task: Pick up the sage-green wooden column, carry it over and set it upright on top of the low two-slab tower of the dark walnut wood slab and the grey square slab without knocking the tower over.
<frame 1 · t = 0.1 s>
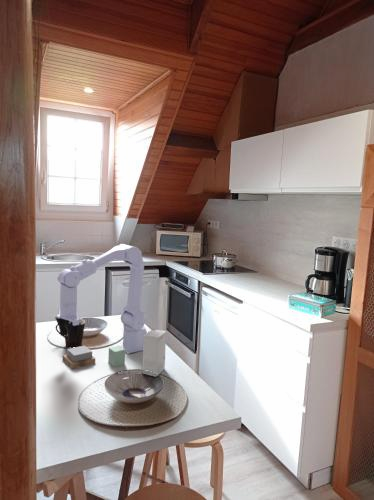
hand: (67, 338, 134), 10 cm above the table, tool pointing down, fingers open, 7 cm apart
walnut slab: (78, 363, 139), on the table, touching grey square slab
coffee mug: (71, 344, 154), on the table
grey square slab: (79, 356, 139), point 2 cm above the table, touching walnut slab
green column: (116, 363, 139), on the table
skincare box: (153, 372, 134), on the table
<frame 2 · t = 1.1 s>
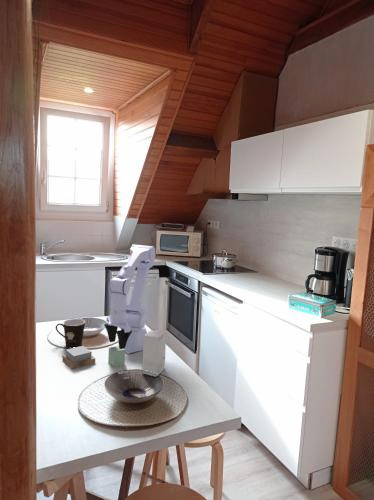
hand: (117, 344, 138), 7 cm above the table, tool pointing down, fingers open, 7 cm apart
nothing on the table moved.
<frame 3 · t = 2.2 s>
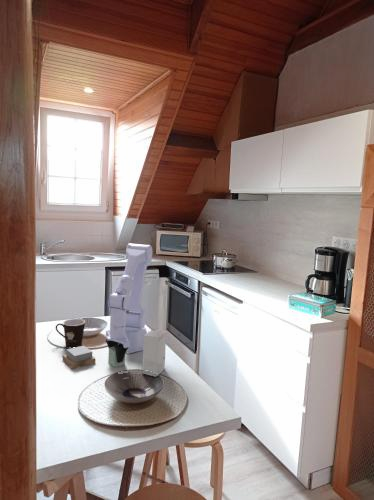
hand: (116, 359, 139), 2 cm above the table, tool pointing down, fingers closed on green column, 4 cm apart
walnut slab: (78, 362, 139), on the table
grey square slab: (79, 356, 138), point 2 cm above the table
green column: (116, 363, 139), on the table, touching gripper
everything else where it was.
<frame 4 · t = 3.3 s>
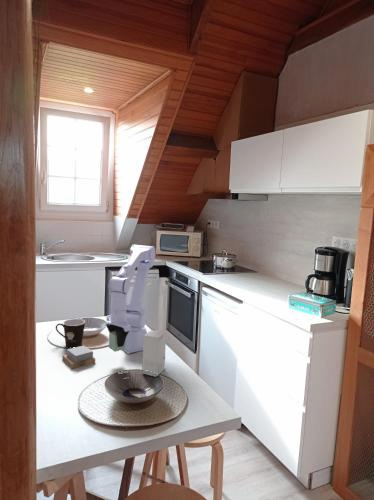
hand: (117, 344, 138), 8 cm above the table, tool pointing down, fingers closed on green column, 4 cm apart
walnut slab: (78, 363, 139), on the table, touching grey square slab
grey square slab: (79, 356, 139), point 2 cm above the table, touching walnut slab
green column: (117, 348, 138), point 6 cm above the table, touching gripper
everything else where it was.
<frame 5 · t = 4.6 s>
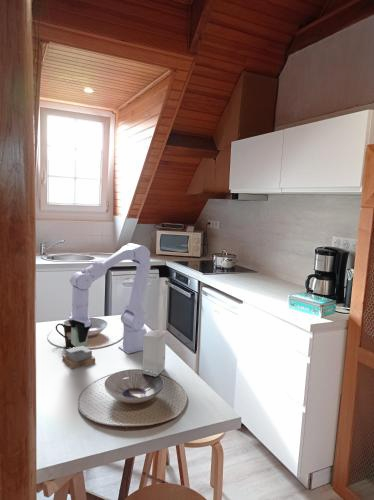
hand: (79, 339, 138), 9 cm above the table, tool pointing down, fingers closed on green column, 4 cm apart
green column: (79, 343, 138), point 7 cm above the table, touching gripper
everything else where it was.
when the fingers open (8 cm above the table, at t = 5.3 s): green column drops 2 cm, point 4 cm above the table.
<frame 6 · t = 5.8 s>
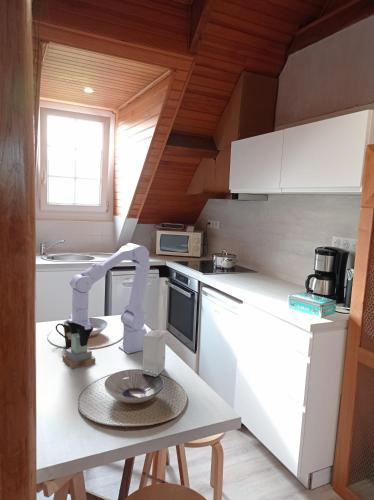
hand: (79, 342, 138), 8 cm above the table, tool pointing down, fingers open, 7 cm apart
green column: (79, 350, 138), point 4 cm above the table
everything else where it was.
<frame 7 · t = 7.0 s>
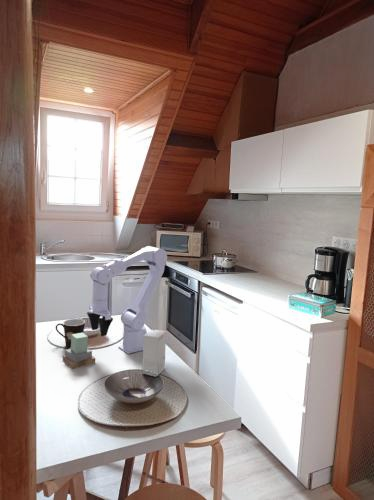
hand: (99, 332, 143), 10 cm above the table, tool pointing down, fingers open, 7 cm apart
nothing on the table moved.
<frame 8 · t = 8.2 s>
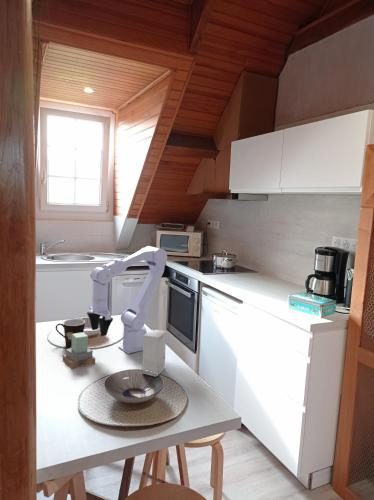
hand: (99, 332, 143), 10 cm above the table, tool pointing down, fingers open, 7 cm apart
nothing on the table moved.
at the end: green column 0.4 cm off-centre on the grey square slab, point 2.5 cm above the grey square slab's base; grey square slab moved 0.8 cm from its start; walnut slab moved 0.9 cm from its start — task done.
